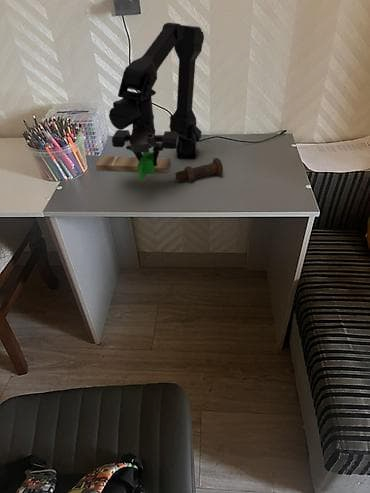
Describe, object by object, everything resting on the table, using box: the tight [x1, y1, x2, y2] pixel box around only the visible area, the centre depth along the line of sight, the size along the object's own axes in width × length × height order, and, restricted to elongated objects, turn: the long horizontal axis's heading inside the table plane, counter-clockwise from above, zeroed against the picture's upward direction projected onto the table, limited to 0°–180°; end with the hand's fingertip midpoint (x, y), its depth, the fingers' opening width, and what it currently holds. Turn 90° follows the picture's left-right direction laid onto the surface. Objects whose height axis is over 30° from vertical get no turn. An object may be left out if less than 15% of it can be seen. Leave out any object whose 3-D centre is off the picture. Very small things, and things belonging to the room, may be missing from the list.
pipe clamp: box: [137, 150, 158, 181], centre depth 114 cm, size 11×4×5 cm, turn 172°
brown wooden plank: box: [95, 155, 171, 174], centre depth 126 cm, size 24×6×2 cm, turn 82°
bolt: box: [174, 157, 224, 183], centre depth 119 cm, size 6×5×15 cm
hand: (148, 165), depth 114 cm, fingers closed on pipe clamp, 4 cm apart
